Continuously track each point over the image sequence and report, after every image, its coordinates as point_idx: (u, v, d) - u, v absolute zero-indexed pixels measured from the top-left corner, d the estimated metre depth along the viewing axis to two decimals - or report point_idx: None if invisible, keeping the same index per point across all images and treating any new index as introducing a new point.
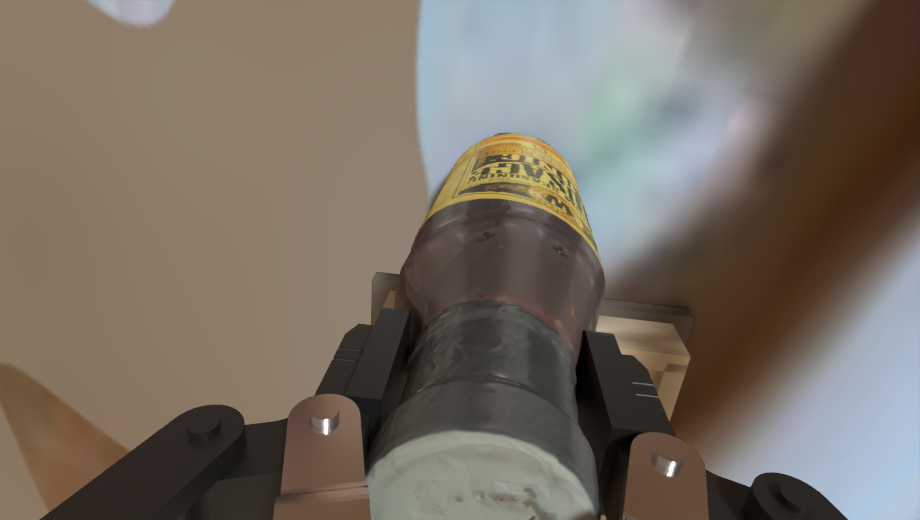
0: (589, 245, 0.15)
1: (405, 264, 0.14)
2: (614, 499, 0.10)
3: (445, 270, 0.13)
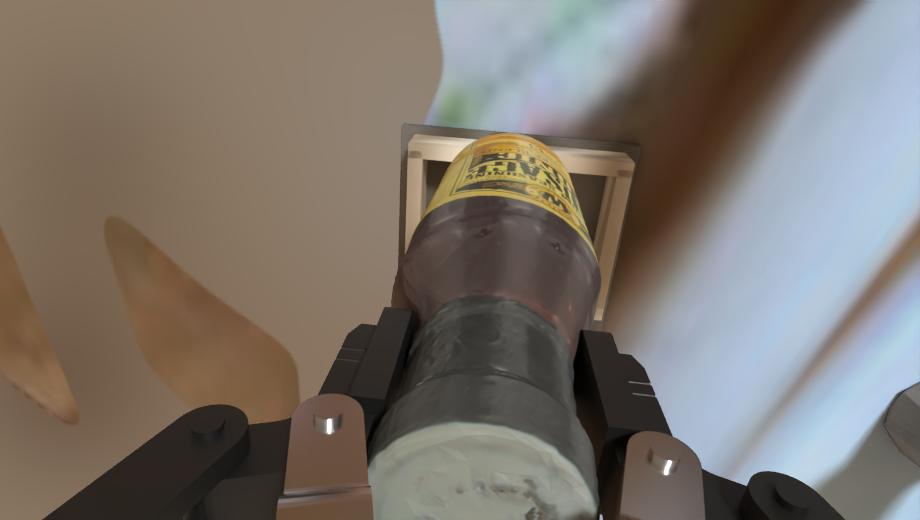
0: (586, 242, 0.15)
1: (403, 261, 0.14)
2: (611, 498, 0.10)
3: (443, 267, 0.13)
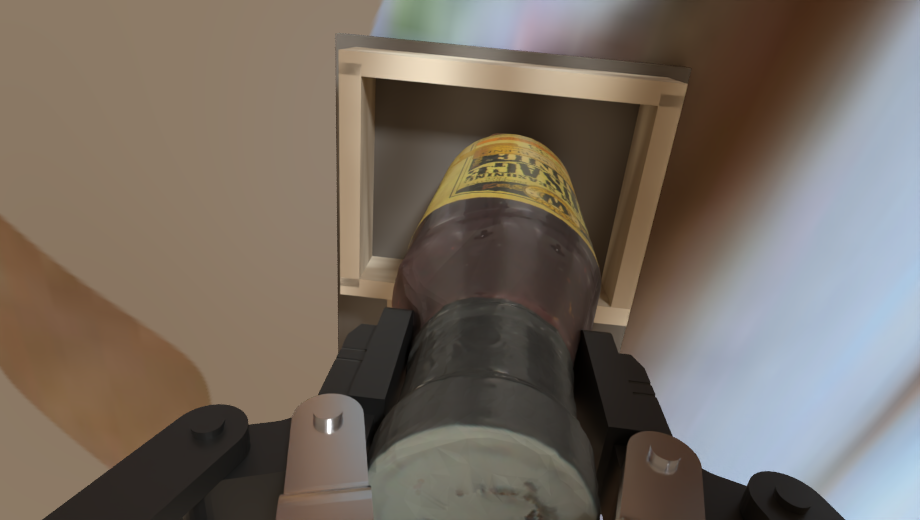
0: (586, 244, 0.15)
1: (403, 262, 0.14)
2: (611, 498, 0.10)
3: (443, 268, 0.13)
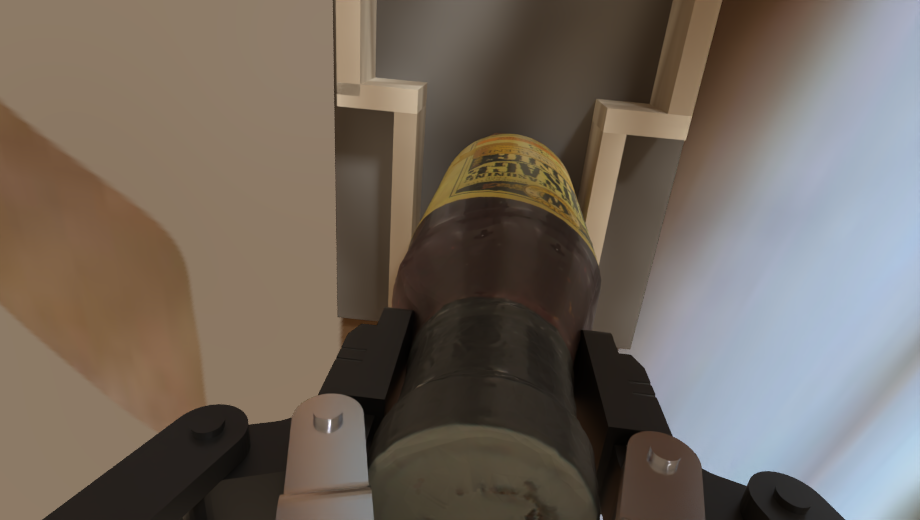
0: (586, 243, 0.15)
1: (403, 262, 0.14)
2: (611, 498, 0.10)
3: (443, 268, 0.13)
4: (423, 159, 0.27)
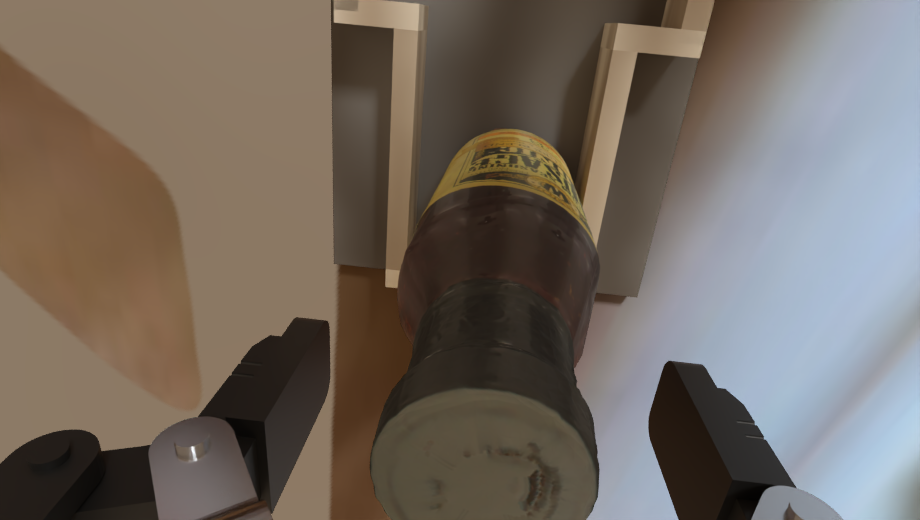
0: (585, 231, 0.15)
1: (409, 247, 0.15)
2: None
3: (448, 252, 0.14)
4: (424, 90, 0.25)
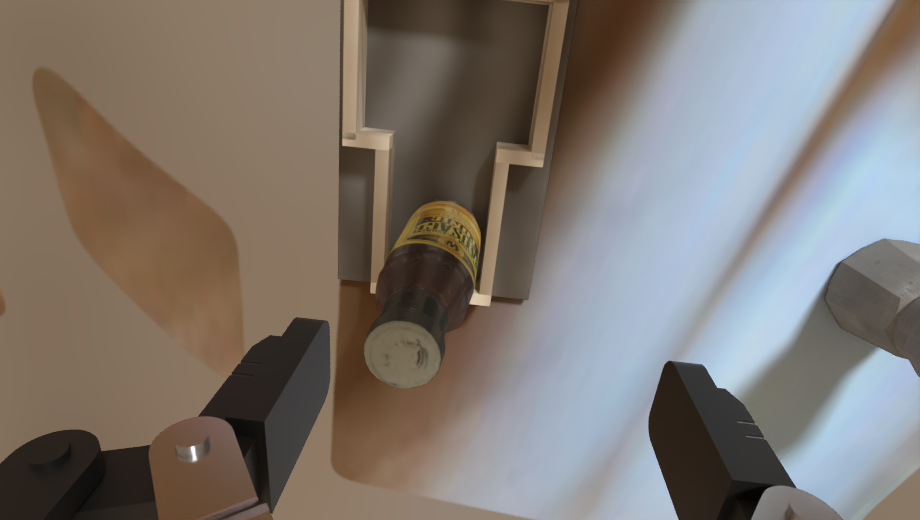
0: (463, 264, 0.33)
1: (380, 272, 0.32)
2: None
3: (397, 274, 0.31)
4: (393, 176, 0.43)
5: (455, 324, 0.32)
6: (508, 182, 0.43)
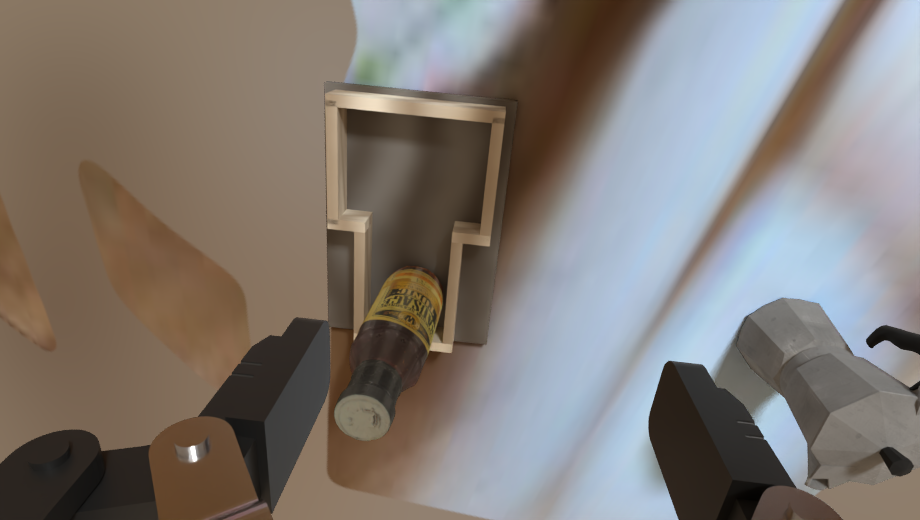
0: (417, 336, 0.42)
1: (352, 343, 0.41)
2: None
3: (364, 347, 0.41)
4: (371, 247, 0.52)
5: (410, 384, 0.42)
6: (465, 252, 0.52)
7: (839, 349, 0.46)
